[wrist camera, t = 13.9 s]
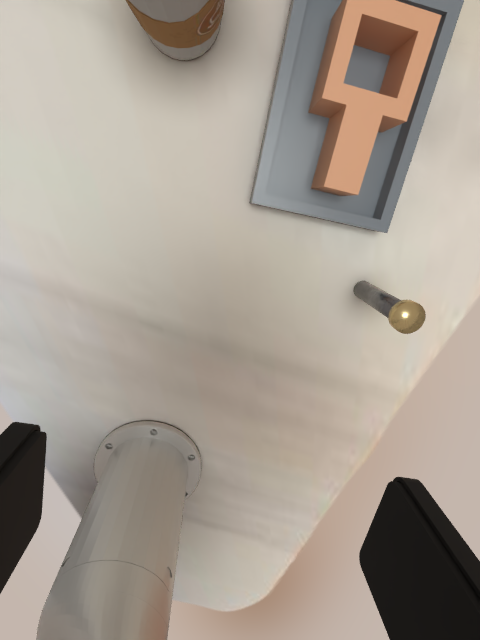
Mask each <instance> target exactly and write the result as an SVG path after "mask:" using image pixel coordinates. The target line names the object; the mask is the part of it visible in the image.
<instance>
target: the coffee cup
mask: <svg viewBox="0 0 480 640" xmlns="http://www.w3.org/2000/svg"><path fill="white" fill-rule="evenodd" d="M126 2H127V3H128V5H129V7H130V8H131V10H132V12H133V13H134V15H135V16H136V18H137V20H138V21H139V23H140V24H141V26H142V27H143V29H144V30H145V31H146V33H147V34H148V36H149V37H150V39H151V41H152V42H153V44H154V45H155V46H156V47H157V48H158V49H159V50H160V51H161V52H162V53H164V54H166V55H168V56H169V57H171V58H175V59H179V60H191V59H194V58H197V57H199V56H201V55H203V54H204V53H205V52H206V51H207V50H209V49H210V47H211V46H212V44H213V43H214V41H215V40H216V37H217V35H218V32H219V30H220V24H221V18H222V15H223V9H224V2H225V0H126Z"/></svg>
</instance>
